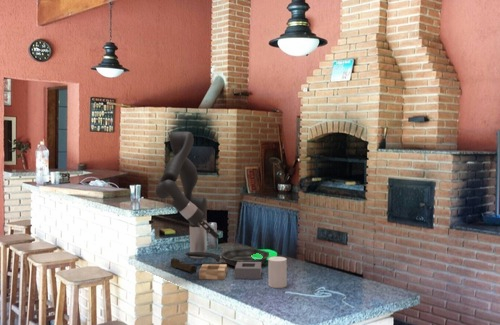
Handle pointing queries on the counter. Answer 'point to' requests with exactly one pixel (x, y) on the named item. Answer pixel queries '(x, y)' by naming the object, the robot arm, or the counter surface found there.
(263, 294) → the counter surface
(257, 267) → the holder block
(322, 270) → the counter surface
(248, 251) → the frying pan
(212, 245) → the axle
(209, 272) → the square frame block
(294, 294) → the counter surface
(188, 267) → the hand tool
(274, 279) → the cup
